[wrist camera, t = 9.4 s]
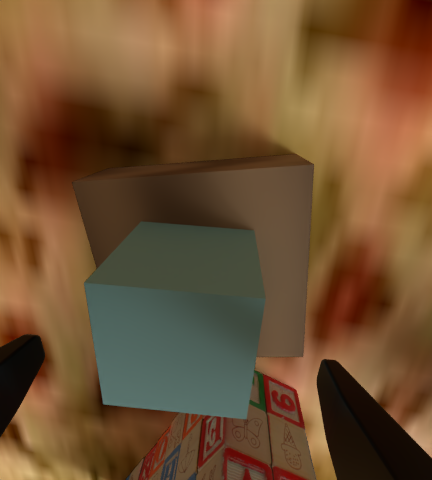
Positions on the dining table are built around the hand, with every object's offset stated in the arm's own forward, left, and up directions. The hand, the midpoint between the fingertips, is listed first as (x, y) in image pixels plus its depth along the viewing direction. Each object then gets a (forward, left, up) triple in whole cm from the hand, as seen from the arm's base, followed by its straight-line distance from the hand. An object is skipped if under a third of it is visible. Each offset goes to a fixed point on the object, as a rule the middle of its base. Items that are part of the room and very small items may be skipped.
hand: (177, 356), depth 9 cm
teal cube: (0, 0, -5) cm, 5 cm away
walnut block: (0, 0, -9) cm, 9 cm away
